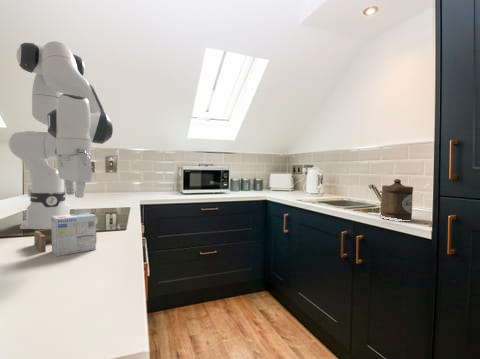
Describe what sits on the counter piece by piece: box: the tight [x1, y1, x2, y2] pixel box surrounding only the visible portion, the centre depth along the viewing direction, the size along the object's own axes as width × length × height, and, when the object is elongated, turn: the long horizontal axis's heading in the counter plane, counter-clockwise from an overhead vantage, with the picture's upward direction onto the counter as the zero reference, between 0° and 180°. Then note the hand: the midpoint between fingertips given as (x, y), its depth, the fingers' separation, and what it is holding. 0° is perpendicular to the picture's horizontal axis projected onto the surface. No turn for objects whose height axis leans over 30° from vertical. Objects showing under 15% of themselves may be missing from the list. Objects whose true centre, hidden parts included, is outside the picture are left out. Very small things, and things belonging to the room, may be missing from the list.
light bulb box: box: [51, 212, 97, 257], centre depth 83 cm, size 11×7×11 cm, turn 135°
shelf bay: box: [33, 228, 52, 253], centre depth 90 cm, size 10×15×4 cm
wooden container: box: [380, 178, 414, 221], centre depth 151 cm, size 15×15×22 cm
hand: (74, 195), depth 83 cm, fingers open, 8 cm apart
